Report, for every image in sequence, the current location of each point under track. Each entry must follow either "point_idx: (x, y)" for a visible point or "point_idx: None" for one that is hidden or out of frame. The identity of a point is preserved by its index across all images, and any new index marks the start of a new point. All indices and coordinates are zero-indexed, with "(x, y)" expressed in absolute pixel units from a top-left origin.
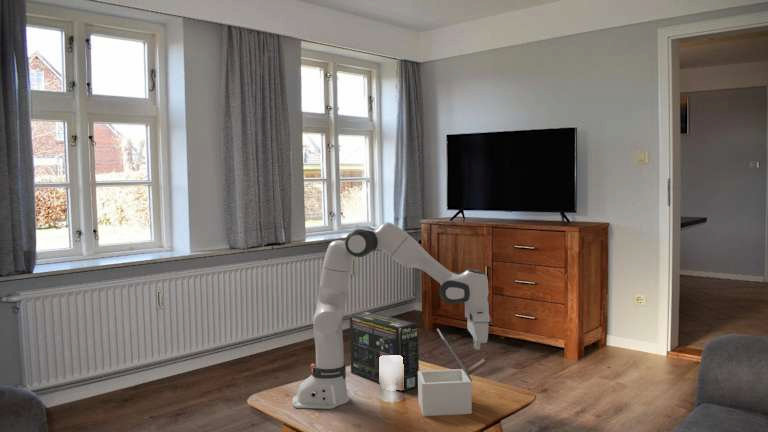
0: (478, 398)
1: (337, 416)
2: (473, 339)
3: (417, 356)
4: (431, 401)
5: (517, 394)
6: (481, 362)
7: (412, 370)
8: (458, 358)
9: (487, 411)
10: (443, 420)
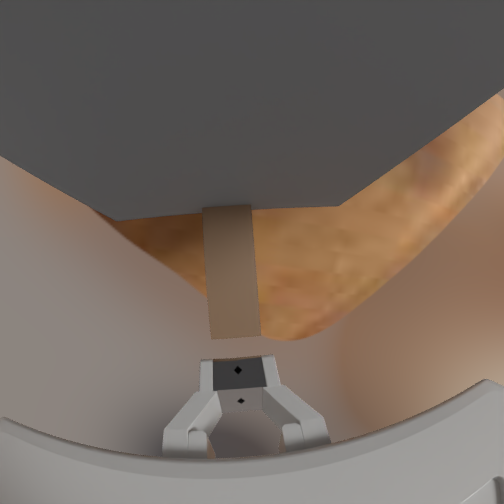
0: (290, 216)
1: None
2: (293, 410)
3: None
4: None
5: (300, 319)
6: (219, 314)
7: None
8: (360, 185)
9: (176, 228)
10: None
